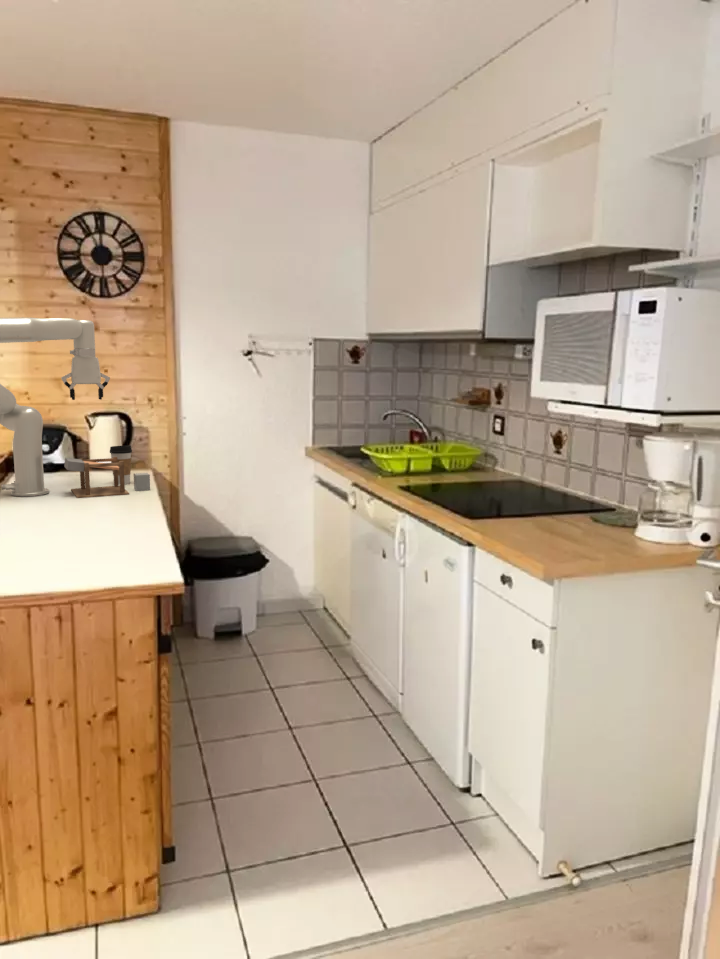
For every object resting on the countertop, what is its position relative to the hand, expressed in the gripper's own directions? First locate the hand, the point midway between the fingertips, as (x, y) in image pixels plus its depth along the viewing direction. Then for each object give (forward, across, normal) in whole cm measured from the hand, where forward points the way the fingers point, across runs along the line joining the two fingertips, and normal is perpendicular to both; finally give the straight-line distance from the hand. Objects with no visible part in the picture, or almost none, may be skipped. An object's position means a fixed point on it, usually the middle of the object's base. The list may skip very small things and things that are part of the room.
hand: (86, 399), depth 283 cm
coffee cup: (+34, +12, +2) cm, 36 cm away
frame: (+33, +1, -15) cm, 37 cm away
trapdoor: (+25, -1, -15) cm, 29 cm away
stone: (+27, +16, -15) cm, 35 cm away
